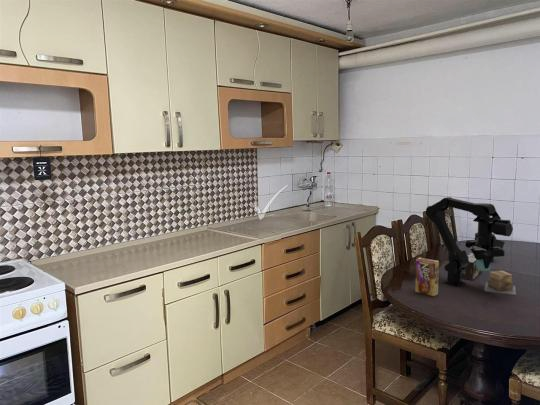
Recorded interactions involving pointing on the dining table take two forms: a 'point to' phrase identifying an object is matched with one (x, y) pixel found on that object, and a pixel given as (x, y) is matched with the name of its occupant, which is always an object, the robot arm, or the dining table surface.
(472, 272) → the coffee box
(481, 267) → the teal block
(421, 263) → the candy box
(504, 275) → the oak top block
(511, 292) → the grey square tile
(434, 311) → the dining table surface
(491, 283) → the walnut base block
